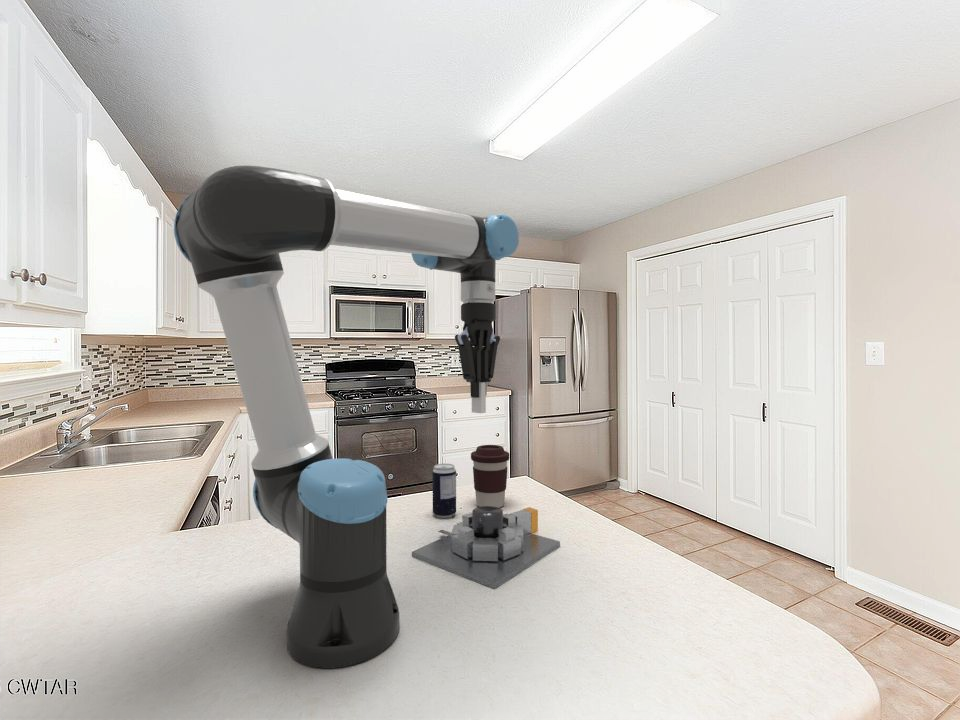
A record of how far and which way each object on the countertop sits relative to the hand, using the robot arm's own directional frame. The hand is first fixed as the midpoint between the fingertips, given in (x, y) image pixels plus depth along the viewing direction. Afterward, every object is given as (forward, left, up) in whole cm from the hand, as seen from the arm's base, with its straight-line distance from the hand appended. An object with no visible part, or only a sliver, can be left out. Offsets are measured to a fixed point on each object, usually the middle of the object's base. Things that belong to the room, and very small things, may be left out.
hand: (478, 412), depth 102 cm
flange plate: (-5, -6, -26) cm, 27 cm away
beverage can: (+4, +14, -27) cm, 30 cm away
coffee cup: (+17, +10, -27) cm, 33 cm away
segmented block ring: (-3, -8, -25) cm, 27 cm away
